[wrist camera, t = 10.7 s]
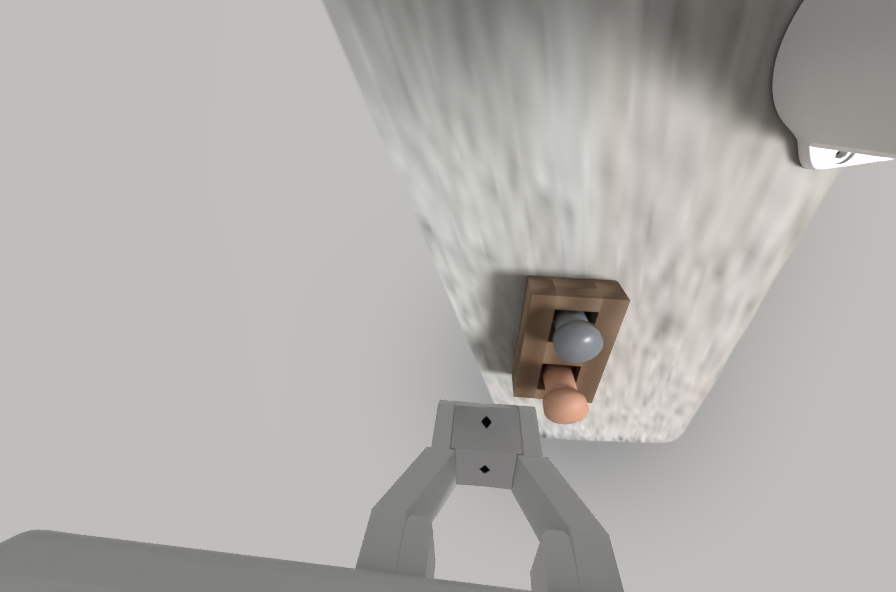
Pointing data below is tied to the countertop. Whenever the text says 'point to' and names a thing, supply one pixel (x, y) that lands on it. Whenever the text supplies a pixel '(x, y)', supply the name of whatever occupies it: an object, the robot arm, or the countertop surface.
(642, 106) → the countertop surface
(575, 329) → the grey plug
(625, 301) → the wooden frame holder
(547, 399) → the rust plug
